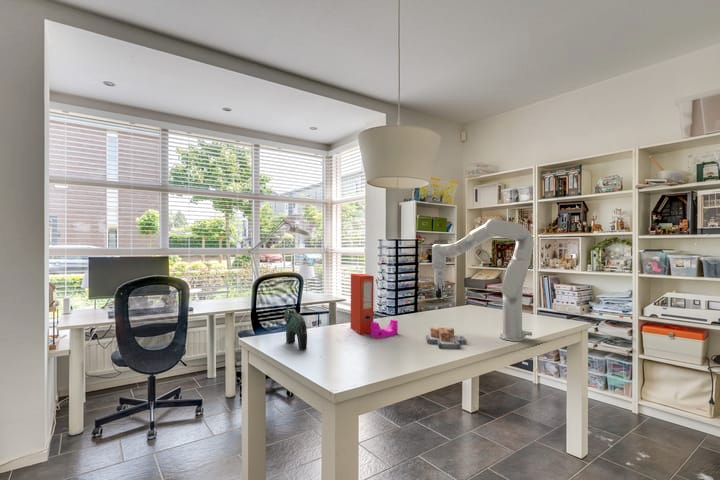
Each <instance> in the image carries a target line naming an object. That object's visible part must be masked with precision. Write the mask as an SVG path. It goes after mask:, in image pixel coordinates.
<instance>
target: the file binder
mask: <svg viewBox="0 0 720 480" xmlns="http://www.w3.org/2000/svg"><path fill="white" fill-rule="evenodd" d="M374 278H375V277H374V276H373V275H370V274H365V273H351V274H350V329H351V330H353V331H355V332H356V333H357V334H358V335H362V336H363V335H371V322H374V291H375V290H374V289H375V288H374V286H375V285H374Z"/></svg>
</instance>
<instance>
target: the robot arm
mask: <svg viewBox="0 0 720 480" xmlns="http://www.w3.org/2000/svg"><path fill="white" fill-rule="evenodd" d="M494 237H495V238H496V237H500V238H505V239H510V240H514V241H515V246H514V250H513V253H512V257H511V260H510V261H509V262H508V264H507V266H506V270H505V273H504V276H503V280H502V283H501V288H500V291H501V294H502V333H500V335H499V338H500V339H502V340H505V341H509V342H524V341H526V337H527V336H530V337H531V336H533V332H532V331H527V330H523V287H524V284H525V281H526V278H527V276H528V275H527V274H528V273H529V272H528V271H529V265H530V261H531V258H532V253H533V251H534V237H533V235H532V233H531V231H529V230H528V228H527V227H525V226H524V225H523V224H522V223H518V222H513V221H507V220H503V219H502V220H501V219H499V218H490V219H488V220H487V221H486V222H485V223H484V224H482V225H480V226H478V227H477V228H475V229H473V230H471V231H470V232H468V234H467V235H466V236H464V237H463V238H460V240H457V241H455V242H454V243H447V244H443V243H434V244H433V245H432V246H431V268H432V269H433V283H434V286H435V298H436V299H443V298H442V297H443V294H442V293H443V291H442V290H443V288H442V286H443V287H445V285H446V282H445V281H446V279H445V269H446V265H447V263H446V262H447V261H446V259H447V257H448V258H456V257H458V256H460V255H462V254H464V253H466V252H468V251H469V250H472V249H473V248H475V247H478V246H480V245H482V244H483V243H485V242H487V241H488V240H489V241H490V240H491V239H492V238H494Z"/></svg>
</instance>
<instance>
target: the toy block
mask: <svg viewBox="0 0 720 480" xmlns="http://www.w3.org/2000/svg"><path fill="white" fill-rule="evenodd" d="M398 322H399V321H398V320H397V319H390V322H389V324H388V326H387V327H385V328H382V327H381V326H380V323H379V322H377V321H373V322H371V334H370V337H373V338H375V339H380V338H381V337H382V338H387V337H393V336H394V335H398V334H399V333H398V332H399V331H398V326H399V325H398Z"/></svg>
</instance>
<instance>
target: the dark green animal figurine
mask: <svg viewBox="0 0 720 480" xmlns="http://www.w3.org/2000/svg"><path fill="white" fill-rule="evenodd" d="M292 307H293V308H290V307H288V306H286V309H285V311H284V313H283V314H284V315H283V316H284V317H283V319H284V321H285V323H286V332H285V339H286V340H285V343H287V342H288V343H287V344H293V343H292V342H295V343H296V338H297V344H298V345H297V346H298V350H299V349H300V350H299V351H305V350H304V349H306V350H307V349H308V348H307V347H308V346H307V345H308V333H307V332H308V330H307V324H306V321H305V318H304V317H303V316H302V315H301V314H300V313H299V312H297V311H296V305H295V304H292Z"/></svg>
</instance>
